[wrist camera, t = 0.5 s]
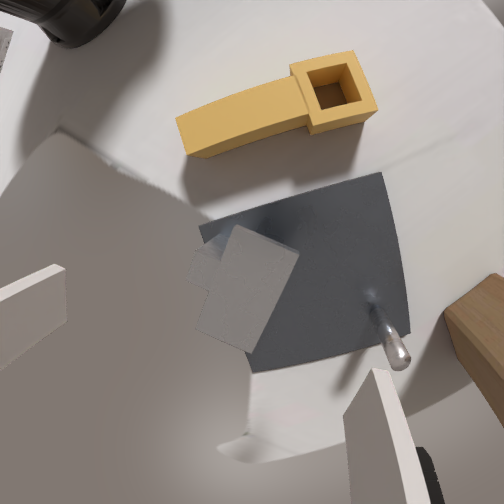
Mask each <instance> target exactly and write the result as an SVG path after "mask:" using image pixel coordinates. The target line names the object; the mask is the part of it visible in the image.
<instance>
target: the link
mask: <svg viewBox="0 0 504 504" xmlns="http://www.w3.org/2000/svg"><path fill="white" fill-rule="evenodd" d="M289 66H290V76H289V77H286V78H282V79H279V80H275V81H272V82H269V83H266V84H262V85H259V86H256V87H253V88H250V89H247V90H244V91H241V92H239V93H236V94H233V95H230V96H228V97H225V98H222V99H220V100H217V101H214V102H212V103H209V104H207V105H204V106H202V107H199V108H197V109H195V110H192V111H190V112H188V113H185V114H183V115H181V116H179V117H176V118H175V119H176V122H177V125H178V129H179V132H180V135H181V138H182V142H183V145H184V148H185V151H186V154H187V155H189V156H194V157H199V158H204V159H207V158H209V157H212V156H215V155H217V154H220V153H223V152H225V151H228V150H231V149H234V148H237V147H240V146H242V145H245V144H248V143H251V142H254V141H257V140H260V139H263V138H266V137H270V136H273V135H276V134H279V133H282V132H286V131H289V130H292V129H296V128H299V127H303V126H306V125H307V127H308V130H309V133H310V135H314V134H318V133H321V132H325V131H329V130H333V129H337V128H340V127H344V126H349V125H353V124H357V123H361V122H365V121H366V120H367V119H368V118H370V117H371V116H372V115H373V114H374V113H375V112H377V111H378V107H377V105H376V102H375V100H374V97H373V94H372V92H371V89H370V87H369V84H368V82H367V80H366V77H365V75H364V73H363V70H362V68H361V66H360V64H359V61H358V59H357V57H356V55H355V53H354V51H353V50H352V51H346V52H341V53H336V54H331V55H326V56H322V57H317V58H313V59H309V60H305V61H301V62H297V63H293V64H289ZM336 82H339V84H340V86H341V89H342V91H343V94H344V96H345V99H346V101H347V104H344V105H340V106H336V107H332V108H328V109H324V110H321V108H320V105H319V102H318V100H317V97H316V95H315V92H314V90H313V88H315V87H319V86H323V85H328V84H332V83H336Z"/></svg>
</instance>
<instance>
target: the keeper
mask: <svg viewBox="0 0 504 504" xmlns="http://www.w3.org/2000/svg"><path fill="white" fill-rule="evenodd" d="M298 257H299V251H298V250H295V249H293V248H291V247H289V246H286V245H284V244H282V243H279V242H277V241H275V240H272V239H270V238H268V237H265V236H263V235H261V234H258V233H256V232H254V231H251V230H249V229H247V228H244V227H242V226H240V225H235V226H234V227H233V230H232V232H231V235H230V238H229V237H226V236H224V235H222V234H218V235H217V236H215V237H214V238H212V239H211V240H210V241H208V242H207V243H205V244H204V245H203V246H201V247H200V248H199V249H197V250H196V251H195V254H194V257H193V260H192V263H191V266H190V269H189V272H188V275H187V278H186V281H188V282H190V283H192V284H194V285H197V286H199V287H201V288H203V289H205V290H208V291H209V293H208V296H207V298H206V301H205V304H204V307H203V309H202V312H201V314H200V317H199V320H198V323H197V326H196V328H195V329H196V330H198V331H200V332H202V333H205V334H207V335H209V336H211V337H213V338H216V339H218V340H220V341H223V342H225V343H227V344H229V345H232V346H234V347H236V348H239V349H241V350H243V351H246V352H248V353H251V354H252V352H253V350H254V348H255V346H256V344H257V342H258V340H259V338H260V336H261V334H262V332H263V330H264V328H265V326H266V324H267V322H268V320H269V318H270V316H271V314H272V312H273V310H274V308H275V306H276V303H277V301H278V299H279V297H280V295H281V293H282V291H283V289H284V287H285V285H286V283H287V281H288V278H289V276H290V274H291V272H292V270H293V268H294V266H295V263H296V261H297V259H298Z"/></svg>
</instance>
